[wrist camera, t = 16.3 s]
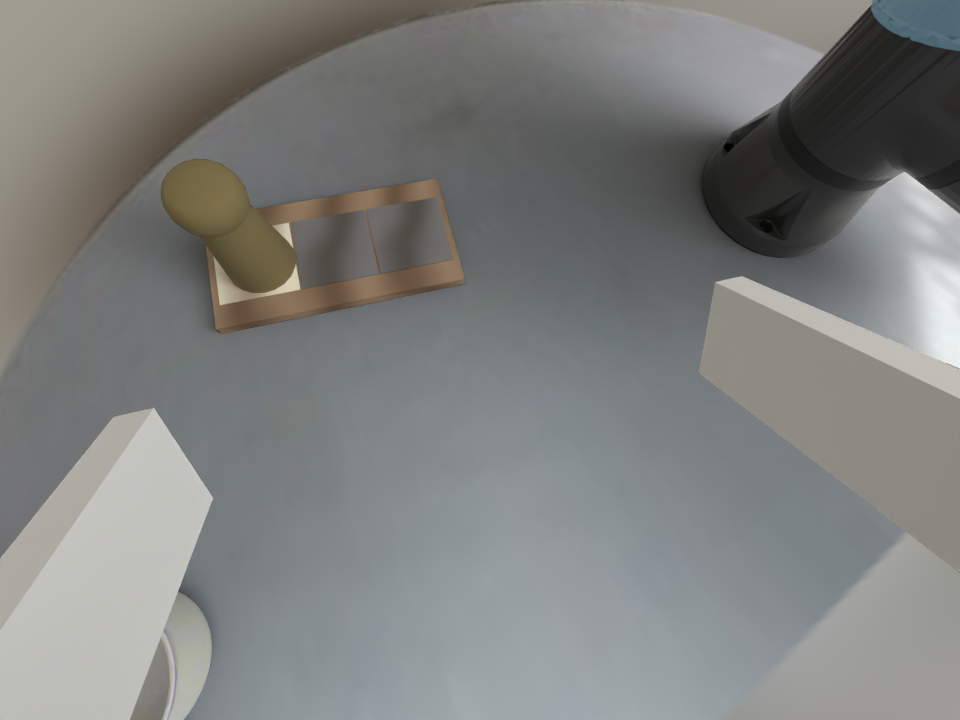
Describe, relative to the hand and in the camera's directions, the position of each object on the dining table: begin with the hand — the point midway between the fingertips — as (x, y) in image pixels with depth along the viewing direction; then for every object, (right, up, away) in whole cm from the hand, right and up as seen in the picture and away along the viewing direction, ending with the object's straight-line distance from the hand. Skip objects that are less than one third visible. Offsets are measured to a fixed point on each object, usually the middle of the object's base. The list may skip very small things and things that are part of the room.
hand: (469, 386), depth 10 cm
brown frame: (-13, +11, +30) cm, 35 cm away
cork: (-19, +9, +28) cm, 36 cm away
